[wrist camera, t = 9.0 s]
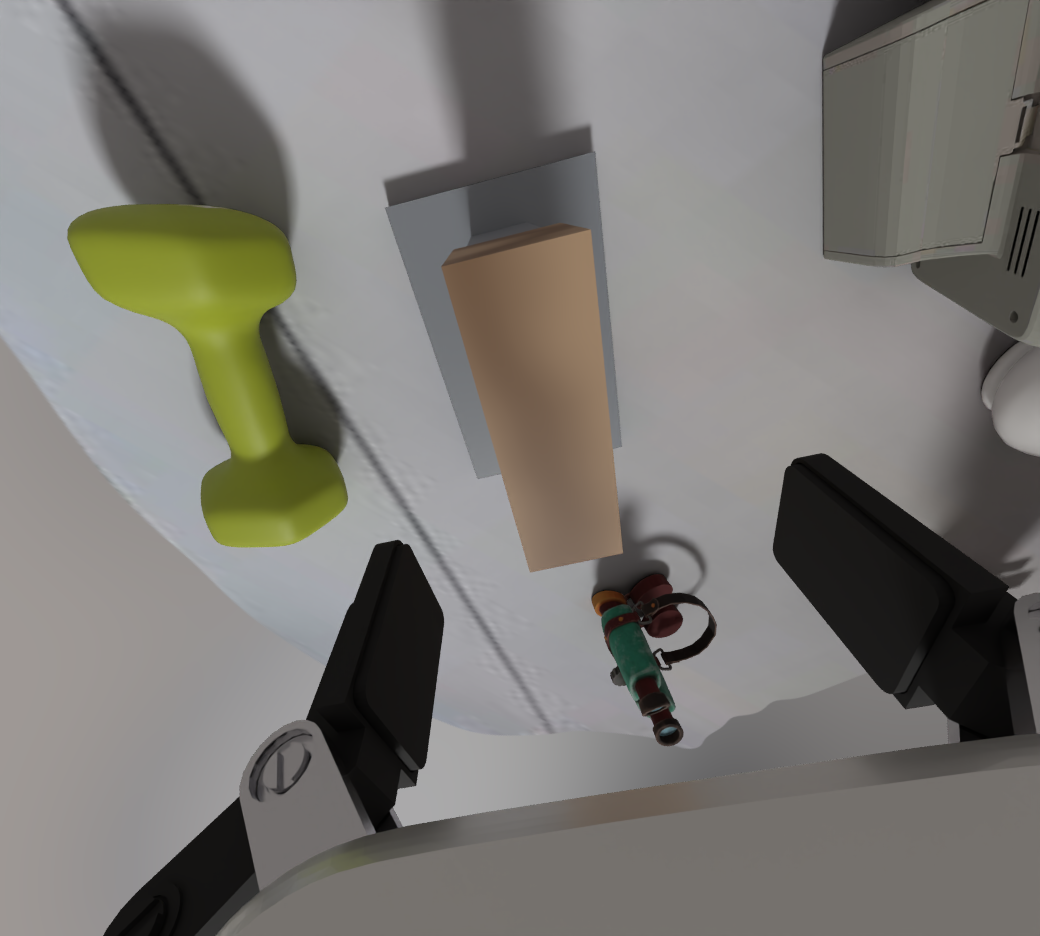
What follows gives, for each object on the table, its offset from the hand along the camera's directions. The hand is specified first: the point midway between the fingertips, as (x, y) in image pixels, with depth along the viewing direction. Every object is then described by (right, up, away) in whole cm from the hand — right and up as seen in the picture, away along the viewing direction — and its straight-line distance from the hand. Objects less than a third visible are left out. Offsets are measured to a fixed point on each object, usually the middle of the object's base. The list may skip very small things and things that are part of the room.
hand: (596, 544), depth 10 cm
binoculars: (+10, -10, +28) cm, 31 cm away
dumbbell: (-16, +8, +14) cm, 23 cm away
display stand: (-2, +9, +14) cm, 17 cm away
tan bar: (-1, +5, +8) cm, 10 cm away
